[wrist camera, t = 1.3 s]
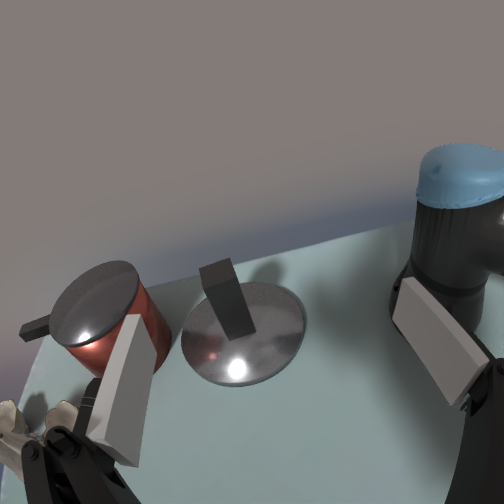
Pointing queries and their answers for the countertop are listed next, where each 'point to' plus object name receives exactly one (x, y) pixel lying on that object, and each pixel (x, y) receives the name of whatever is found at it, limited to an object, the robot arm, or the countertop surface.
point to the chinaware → (27, 430)
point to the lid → (241, 329)
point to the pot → (101, 316)
